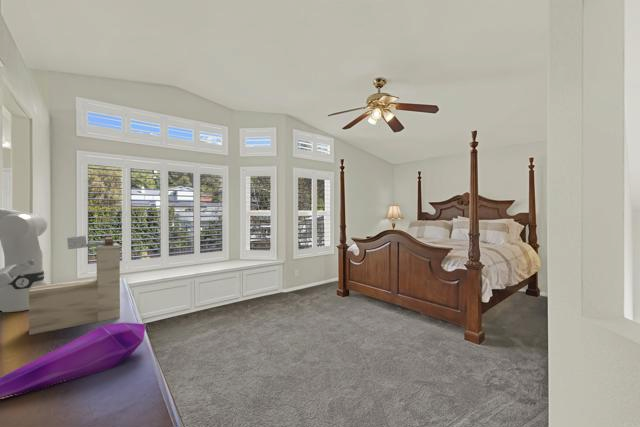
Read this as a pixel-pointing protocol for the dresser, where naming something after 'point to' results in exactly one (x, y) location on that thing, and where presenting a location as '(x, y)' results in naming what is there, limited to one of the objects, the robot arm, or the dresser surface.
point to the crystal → (76, 358)
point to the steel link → (81, 242)
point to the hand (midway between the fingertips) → (31, 263)
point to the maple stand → (79, 296)
